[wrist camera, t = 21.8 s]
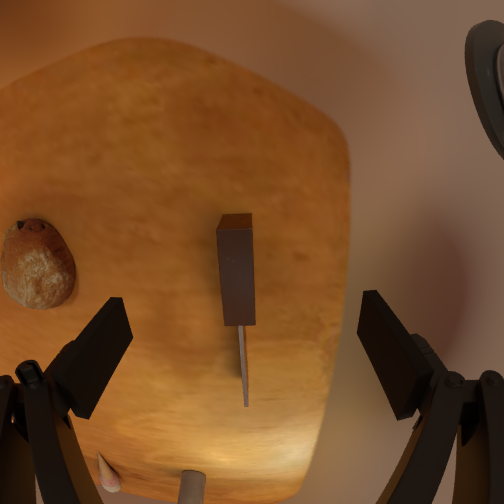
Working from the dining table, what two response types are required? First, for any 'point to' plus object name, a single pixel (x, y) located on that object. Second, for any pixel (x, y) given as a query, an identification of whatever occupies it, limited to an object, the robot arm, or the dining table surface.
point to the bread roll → (36, 265)
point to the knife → (237, 280)
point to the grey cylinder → (192, 488)
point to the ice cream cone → (108, 476)
